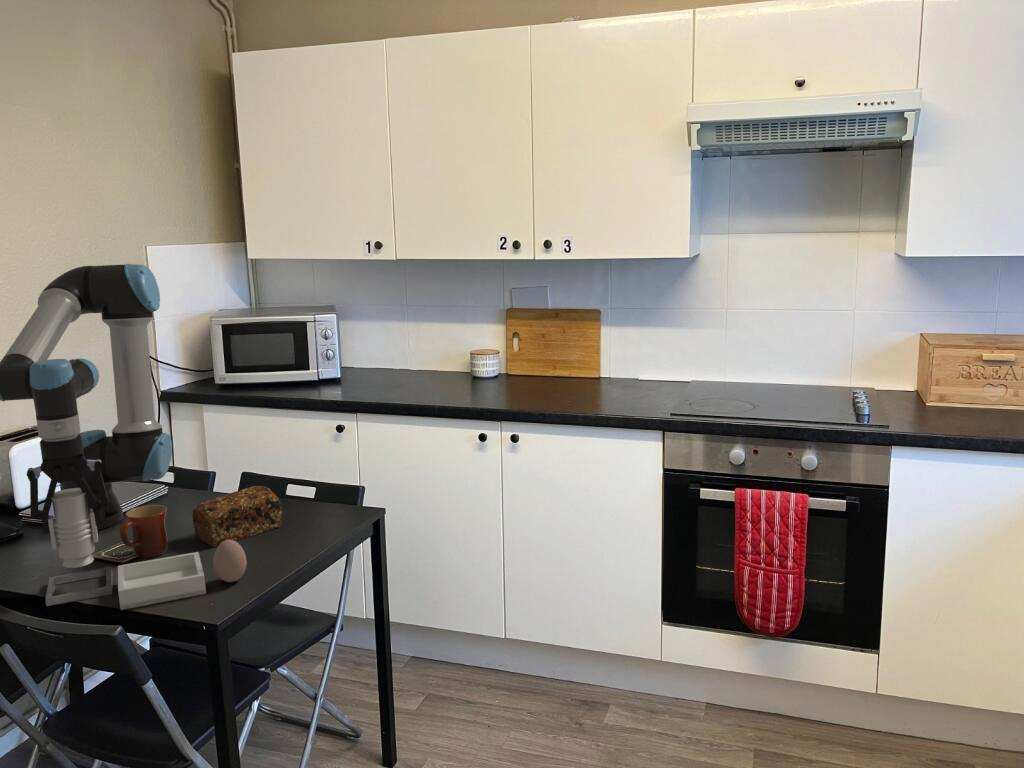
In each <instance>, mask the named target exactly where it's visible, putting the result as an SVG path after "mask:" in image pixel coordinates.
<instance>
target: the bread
mask: <svg viewBox="0 0 1024 768" xmlns="http://www.w3.org/2000/svg"><path fill="white" fill-rule="evenodd" d="M282 510H283V509H282V505H281V500H280V499H279V497H278V496H277V495H276V493H274V492H273V491H272V490H271V489H270V488H268V487H267V486H263V485H254V486H251V487H246V488H244V489H241V490H238V491H232V492H231V493H227V494H224V495H222V496H219V497H215V498H212V499H211V498H210V499H209V500H205V501H203V502H199V503H198V504H197V505H195V506H194V508H193V509H192V515H191V516H192V521H193V522H192V526H193V530H194V532H195V533H194V534H195V536H196V538H197V539H199V540H200V541H201V542H205V543H207V545H209V546H211V547H212V548H218V546H219V545H220V544H221V543H222V542H223V541H225V540H233V541H236V542H238V541H240V540H244V539H247V538H251V537H253V536H256V535H258V534H263V533H266V532H270V531H272V530H275V528H279V527H281V526H282V514H283V511H282Z"/></svg>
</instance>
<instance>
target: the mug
mask: <svg viewBox="0 0 1024 768" xmlns="http://www.w3.org/2000/svg"><path fill="white" fill-rule="evenodd" d="M167 512H168V507H167V506H166V505H161V504H147V505H142V506H137V507H134V508H132V509H130V510H127V511H126V512H125V517H126V519H127V521H126V522H125V521H124V522H123V524H122V525H121V526H120V529H119V534H120V535H119V536H120V539H121V542H122V543H123V544H124V545H125V546H126V547H127V548H132V550H133V552H134V555H135V557H138V558H140V559H151V558H156V557H160V556H161V555H163V554H165V552H167V550H168V545H169V543H168V535H167V528H166V516H167ZM129 527H130V531H131V532H130V533H131V535H130V536H131V542H130V540H129V537H128V532H127V530H128V528H129Z"/></svg>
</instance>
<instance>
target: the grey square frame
mask: <svg viewBox="0 0 1024 768" xmlns="http://www.w3.org/2000/svg"><path fill="white" fill-rule="evenodd" d="M101 577H105V579H106V580H105V581H106V582H105V586H101V587H97V588H95V587H94V588H92V589H85V590H81V591H80V590H79V591H74V592H68V593H63V594H56V595H55V591H56V590H55V589H56V585H62V584H68V583H73V582H78V581H84V580H90V579H95V578H101ZM53 595H54V596H53ZM111 595H113V566H107V567H101V568H100V567H99V568H96V569H90V570H89V569H88V570H84V571H79V572H73V573H67V574H62V575H55V576H50V577H49V579H48V583H47V589H46V594H45V605H46V607H51V606H57V605H62V604H68V603H72V602H73V603H74V602H78V601H83V600H89V599H93V598H98V597H103V596H111Z"/></svg>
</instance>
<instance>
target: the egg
mask: <svg viewBox="0 0 1024 768" xmlns="http://www.w3.org/2000/svg"><path fill="white" fill-rule="evenodd" d="M246 555H247V554H246V553H245V550H244V549H243V547H242V545H240V543H239V542H238V541H233V540H225V541H223V542H222V543H221V544H220V545H219V546H218V547H216V550H215V552H214V555H213V561H212V563H213V570H214V573H215V575H216V576H217V577H218V578H219V579H220V580H221V581H224V582H225V583H234V582H237V581H238V580H239V579H241V577H243V575H244V573H245V571H246V569H247V565H248V564H247V563H248V562H247V556H246Z"/></svg>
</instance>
